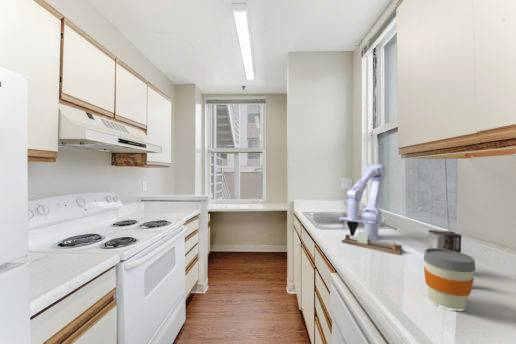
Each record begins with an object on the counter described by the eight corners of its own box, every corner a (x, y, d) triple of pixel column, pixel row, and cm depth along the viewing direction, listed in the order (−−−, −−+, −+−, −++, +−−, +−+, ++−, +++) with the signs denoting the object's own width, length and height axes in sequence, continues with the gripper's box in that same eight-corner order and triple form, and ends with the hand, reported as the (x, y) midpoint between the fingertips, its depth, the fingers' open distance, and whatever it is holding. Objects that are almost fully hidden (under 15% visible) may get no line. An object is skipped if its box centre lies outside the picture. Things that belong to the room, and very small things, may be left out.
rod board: (347, 239, 143) (347, 232, 143) (402, 250, 126) (403, 243, 126) (341, 242, 136) (342, 235, 136) (399, 255, 119) (399, 247, 119)
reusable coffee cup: (420, 289, 85) (422, 245, 84) (467, 300, 78) (470, 253, 78) (423, 306, 74) (425, 256, 74) (478, 320, 67) (481, 266, 67)
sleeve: (359, 240, 137) (360, 232, 137) (369, 242, 134) (369, 234, 133) (357, 242, 133) (357, 233, 133) (367, 244, 130) (367, 235, 130)
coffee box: (449, 269, 103) (451, 230, 103) (460, 275, 97) (462, 235, 97) (426, 267, 104) (428, 229, 104) (435, 274, 98) (437, 233, 98)
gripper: (337, 210, 138) (336, 234, 139) (365, 213, 129) (363, 239, 130) (342, 208, 144) (341, 231, 144) (368, 212, 135) (367, 237, 135)
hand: (352, 235), depth 137 cm, fingers closed
